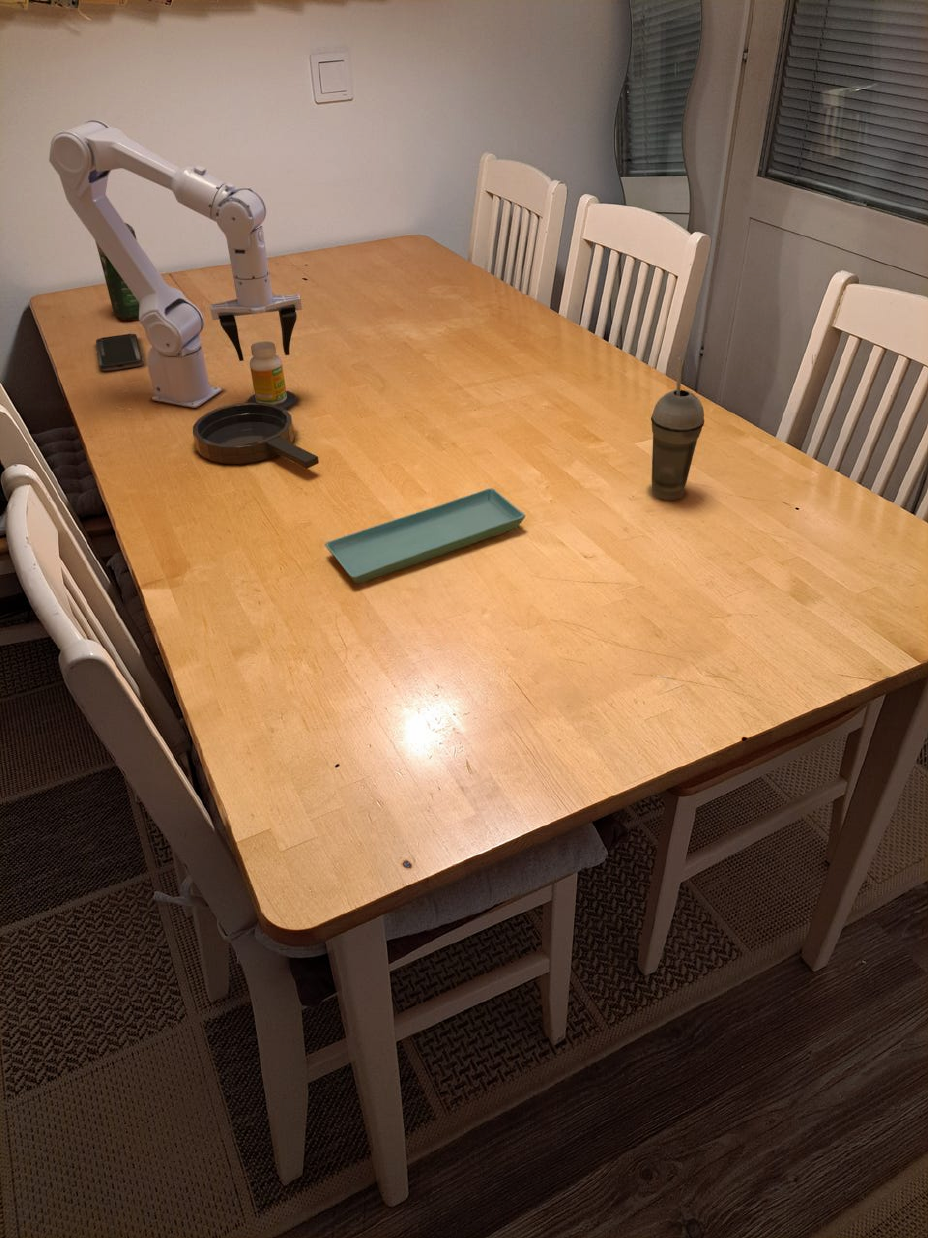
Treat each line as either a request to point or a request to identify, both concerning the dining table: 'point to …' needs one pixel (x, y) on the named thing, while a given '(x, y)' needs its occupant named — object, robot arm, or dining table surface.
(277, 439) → the pan handle
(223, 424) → the pan
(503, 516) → the teal serving tray
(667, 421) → the beverage cup
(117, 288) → the coffee jar
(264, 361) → the supplement bottle
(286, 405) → the coaster
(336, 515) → the dining table surface
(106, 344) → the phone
